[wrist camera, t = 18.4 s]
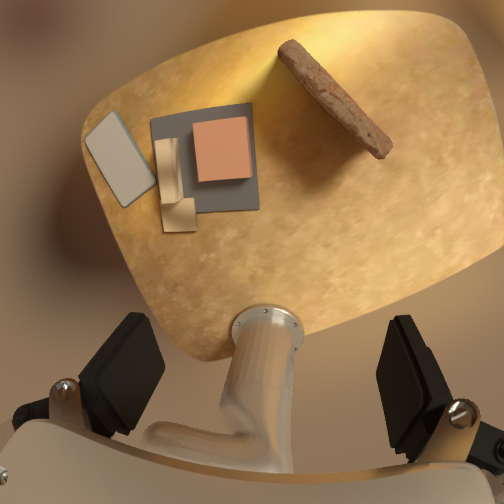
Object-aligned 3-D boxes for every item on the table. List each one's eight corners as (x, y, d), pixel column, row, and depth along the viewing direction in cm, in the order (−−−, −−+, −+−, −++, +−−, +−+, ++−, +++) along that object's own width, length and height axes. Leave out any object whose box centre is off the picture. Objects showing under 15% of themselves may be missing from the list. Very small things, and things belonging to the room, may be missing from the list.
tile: (250, 177, 34) (245, 116, 31) (198, 181, 36) (192, 123, 33) (253, 175, 37) (248, 118, 34) (204, 179, 38) (198, 124, 35)
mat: (259, 208, 39) (259, 209, 38) (163, 214, 41) (162, 214, 41) (251, 103, 33) (250, 102, 33) (151, 119, 36) (150, 119, 35)
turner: (154, 141, 37) (144, 142, 34) (188, 136, 36) (180, 136, 33) (165, 230, 42) (157, 237, 39) (197, 229, 41) (191, 236, 38)
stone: (292, 44, 29) (273, 61, 31) (276, 22, 21) (252, 44, 23) (386, 142, 31) (366, 158, 33) (401, 146, 23) (375, 167, 25)
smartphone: (123, 209, 42) (82, 140, 37) (126, 208, 43) (86, 139, 38) (158, 182, 39) (113, 108, 35) (160, 181, 40) (116, 108, 36)
